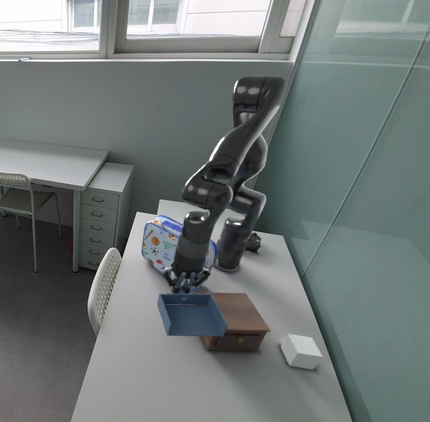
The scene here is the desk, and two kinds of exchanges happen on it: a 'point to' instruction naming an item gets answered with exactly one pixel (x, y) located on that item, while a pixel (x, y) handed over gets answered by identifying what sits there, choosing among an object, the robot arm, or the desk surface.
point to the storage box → (237, 324)
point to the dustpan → (191, 314)
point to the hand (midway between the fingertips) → (179, 294)
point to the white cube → (301, 351)
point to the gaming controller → (253, 243)
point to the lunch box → (169, 245)
